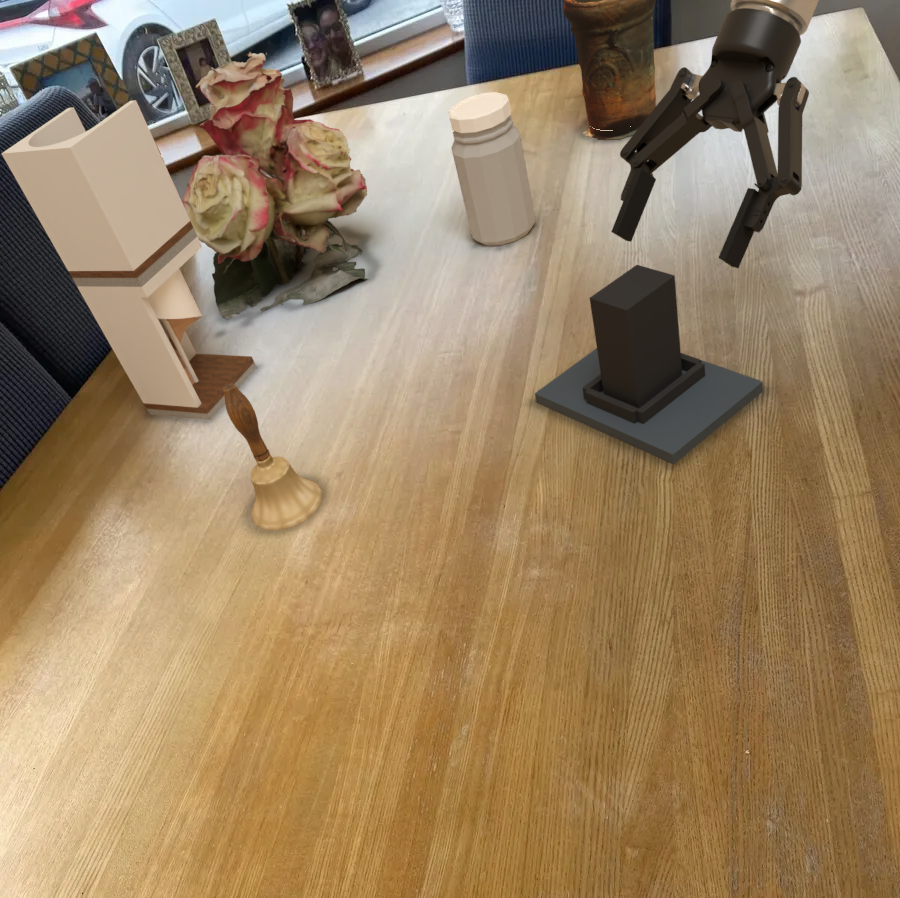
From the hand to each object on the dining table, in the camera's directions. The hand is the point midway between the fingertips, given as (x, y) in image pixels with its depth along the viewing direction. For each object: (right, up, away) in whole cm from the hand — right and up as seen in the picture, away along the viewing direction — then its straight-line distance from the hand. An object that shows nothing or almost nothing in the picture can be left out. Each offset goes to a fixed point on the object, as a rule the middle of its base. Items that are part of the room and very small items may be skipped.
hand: (672, 249), depth 94 cm
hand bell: (-40, -25, +11) cm, 48 cm away
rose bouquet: (-44, +16, +51) cm, 70 cm away
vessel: (+7, +44, +61) cm, 75 cm away
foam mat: (-1, -13, +9) cm, 16 cm away
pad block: (-1, -12, +8) cm, 14 cm away
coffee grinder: (-55, -7, +33) cm, 65 cm away
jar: (-14, +19, +44) cm, 50 cm away
